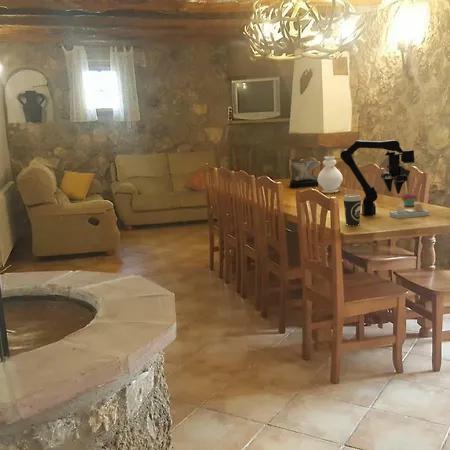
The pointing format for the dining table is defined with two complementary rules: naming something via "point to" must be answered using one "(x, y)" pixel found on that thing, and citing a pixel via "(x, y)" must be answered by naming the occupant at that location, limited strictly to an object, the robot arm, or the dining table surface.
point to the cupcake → (409, 199)
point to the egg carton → (409, 214)
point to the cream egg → (400, 209)
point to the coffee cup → (352, 208)
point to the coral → (304, 174)
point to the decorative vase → (329, 176)
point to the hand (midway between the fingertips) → (394, 192)
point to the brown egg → (418, 207)
